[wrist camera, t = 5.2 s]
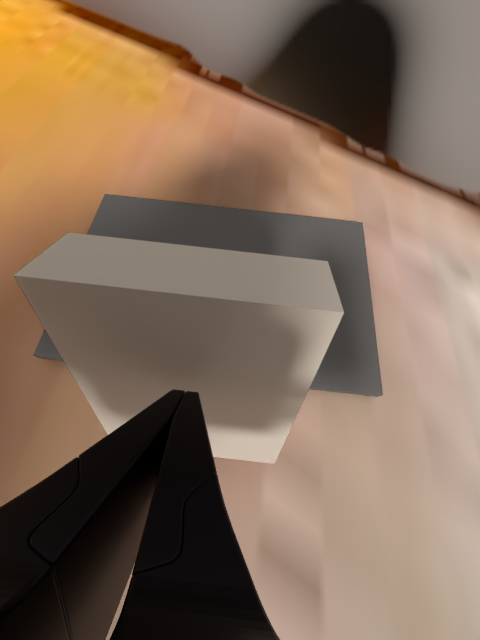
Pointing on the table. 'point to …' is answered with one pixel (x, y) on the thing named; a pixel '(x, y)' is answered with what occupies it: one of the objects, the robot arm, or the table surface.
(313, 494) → the table surface
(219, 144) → the table surface
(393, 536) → the table surface
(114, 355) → the glazed tile
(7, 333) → the table surface
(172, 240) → the mat
